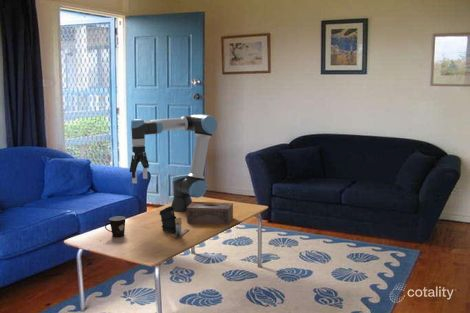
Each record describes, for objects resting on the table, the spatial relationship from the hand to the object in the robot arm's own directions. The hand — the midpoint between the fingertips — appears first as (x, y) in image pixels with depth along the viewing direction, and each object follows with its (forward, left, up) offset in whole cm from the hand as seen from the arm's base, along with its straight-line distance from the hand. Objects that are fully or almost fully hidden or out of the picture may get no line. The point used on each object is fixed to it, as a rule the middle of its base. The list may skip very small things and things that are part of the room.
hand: (140, 180), depth 284 cm
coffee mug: (+24, -4, -27) cm, 36 cm away
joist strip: (+12, +31, -27) cm, 43 cm away
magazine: (+8, +21, -27) cm, 35 cm away
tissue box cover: (-18, +38, -27) cm, 50 cm away
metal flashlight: (+17, +31, -26) cm, 44 cm away
